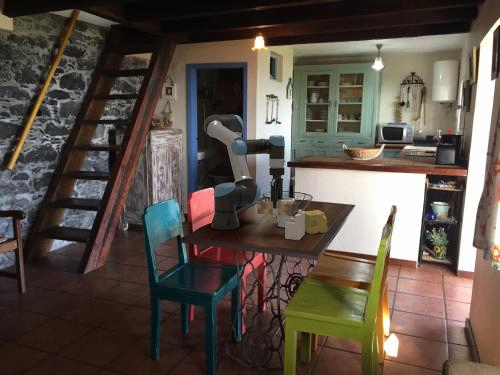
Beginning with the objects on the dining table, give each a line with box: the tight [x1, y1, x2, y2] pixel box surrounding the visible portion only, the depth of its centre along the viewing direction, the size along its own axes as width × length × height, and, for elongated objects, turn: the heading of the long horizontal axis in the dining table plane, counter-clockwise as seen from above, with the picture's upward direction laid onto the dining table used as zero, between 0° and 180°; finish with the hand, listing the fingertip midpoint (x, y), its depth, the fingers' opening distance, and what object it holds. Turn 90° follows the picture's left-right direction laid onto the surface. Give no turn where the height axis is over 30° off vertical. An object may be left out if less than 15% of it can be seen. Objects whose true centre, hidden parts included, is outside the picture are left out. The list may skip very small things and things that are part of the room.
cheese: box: [305, 209, 328, 235], centre depth 218 cm, size 10×11×10 cm
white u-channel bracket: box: [284, 208, 306, 241], centre depth 207 cm, size 7×11×14 cm, turn 158°
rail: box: [256, 200, 299, 217], centre depth 210 cm, size 20×4×6 cm, turn 68°
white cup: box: [276, 197, 296, 228], centre depth 229 cm, size 11×10×15 cm
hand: (276, 213), depth 210 cm, fingers closed on rail, 4 cm apart
